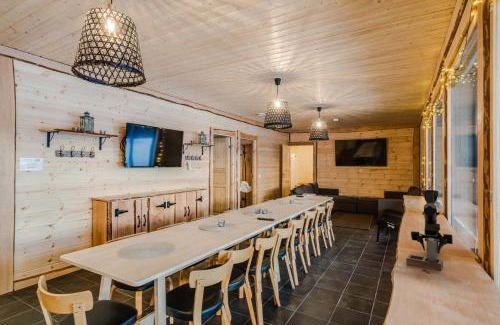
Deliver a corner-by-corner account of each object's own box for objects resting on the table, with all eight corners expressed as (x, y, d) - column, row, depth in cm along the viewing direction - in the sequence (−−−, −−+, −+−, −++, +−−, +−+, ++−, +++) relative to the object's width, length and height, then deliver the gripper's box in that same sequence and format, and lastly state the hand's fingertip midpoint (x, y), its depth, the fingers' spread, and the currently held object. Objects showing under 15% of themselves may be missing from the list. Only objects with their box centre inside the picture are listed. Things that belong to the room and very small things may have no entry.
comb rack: (409, 260, 155) (409, 254, 155) (443, 266, 144) (442, 259, 144) (406, 264, 148) (406, 258, 148) (441, 270, 138) (440, 264, 138)
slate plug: (430, 264, 147) (429, 236, 148) (439, 266, 143) (438, 238, 144) (425, 265, 145) (424, 238, 146) (434, 268, 141) (433, 239, 141)
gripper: (410, 216, 153) (409, 241, 144) (451, 219, 142) (453, 245, 133) (412, 227, 159) (411, 251, 150) (451, 230, 149) (453, 257, 139)
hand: (431, 251), depth 143 cm, fingers open, 6 cm apart
